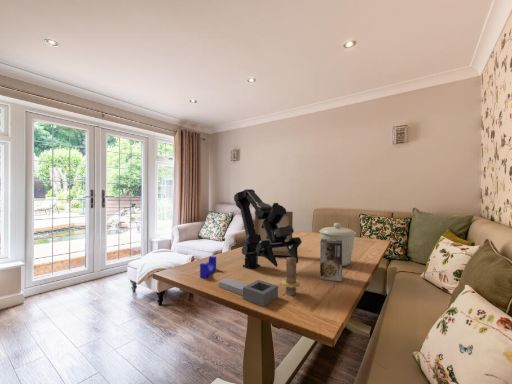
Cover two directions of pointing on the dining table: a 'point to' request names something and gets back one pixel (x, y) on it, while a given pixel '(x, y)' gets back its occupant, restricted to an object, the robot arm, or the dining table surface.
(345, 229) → the canister
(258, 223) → the photo frame
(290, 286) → the walnut pin
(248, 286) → the hitch block
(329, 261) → the coffee box
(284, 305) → the dining table surface
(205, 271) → the blue arched block
